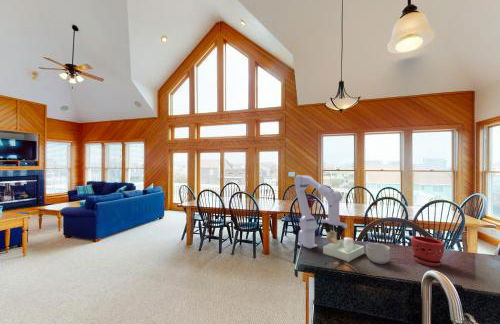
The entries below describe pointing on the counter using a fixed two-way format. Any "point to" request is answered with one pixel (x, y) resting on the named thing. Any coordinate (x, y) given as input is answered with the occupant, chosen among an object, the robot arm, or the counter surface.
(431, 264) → the plant pot
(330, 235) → the oak cube
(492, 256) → the counter surface
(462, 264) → the counter surface
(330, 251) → the tote
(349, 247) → the white canister
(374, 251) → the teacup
